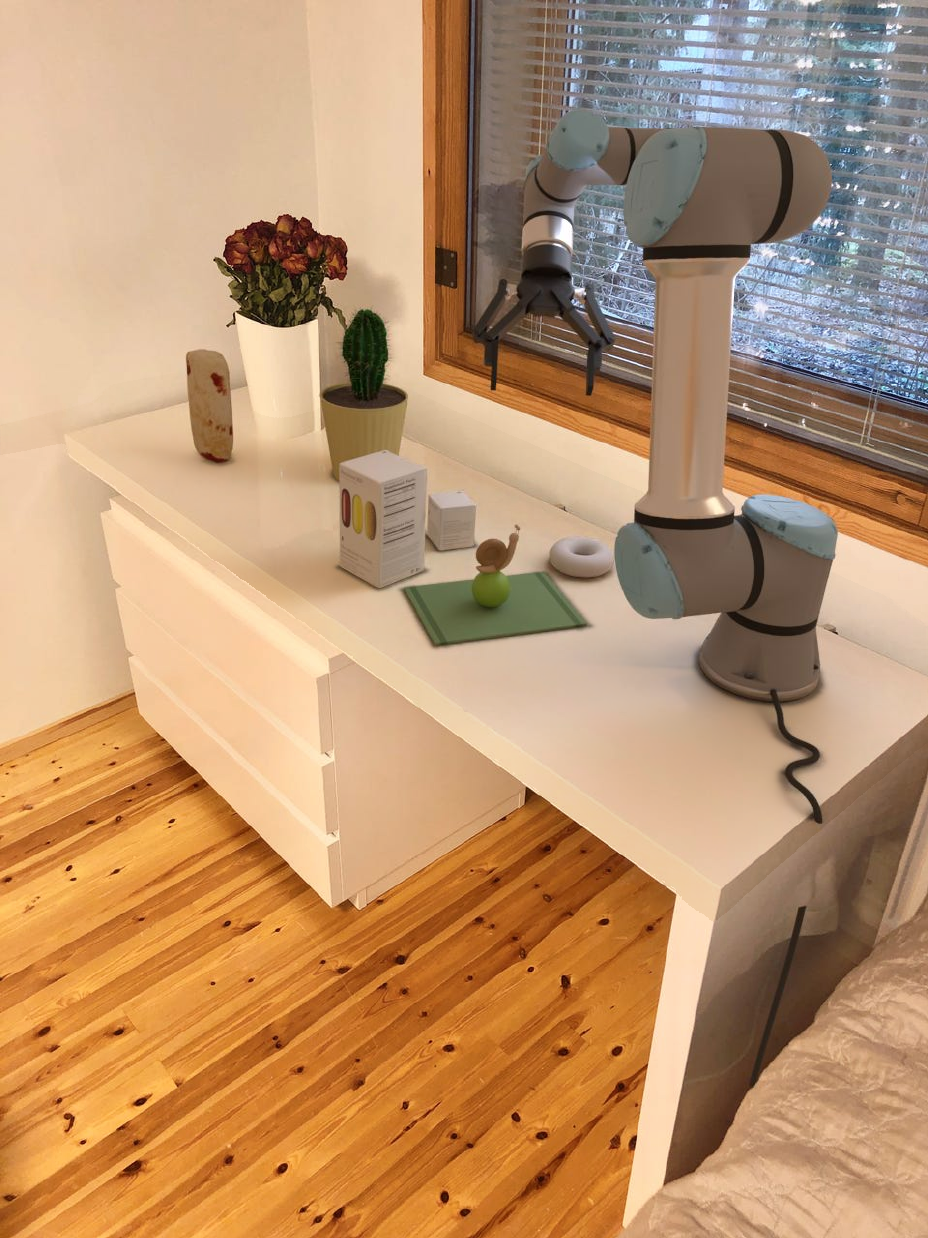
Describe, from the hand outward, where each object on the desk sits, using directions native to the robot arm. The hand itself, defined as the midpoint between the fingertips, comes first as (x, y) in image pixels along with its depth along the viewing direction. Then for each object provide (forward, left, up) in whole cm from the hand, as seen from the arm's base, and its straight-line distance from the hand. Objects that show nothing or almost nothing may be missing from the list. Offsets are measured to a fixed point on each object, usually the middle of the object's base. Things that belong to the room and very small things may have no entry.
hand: (541, 388), depth 147 cm
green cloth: (-12, +10, -28) cm, 32 cm away
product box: (+10, +9, -28) cm, 31 cm away
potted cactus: (+40, +16, -28) cm, 52 cm away
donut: (-3, -8, -28) cm, 29 cm away
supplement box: (+3, +22, -28) cm, 36 cm away
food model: (+53, +41, -28) cm, 73 cm away
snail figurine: (-12, +10, -27) cm, 31 cm away
